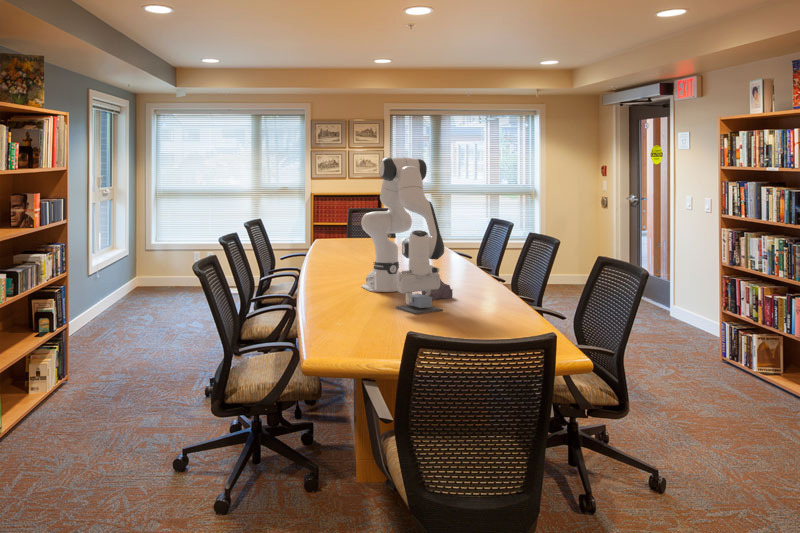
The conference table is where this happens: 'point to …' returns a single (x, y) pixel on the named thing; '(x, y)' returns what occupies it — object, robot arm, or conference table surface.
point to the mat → (418, 309)
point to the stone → (440, 292)
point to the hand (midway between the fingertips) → (418, 301)
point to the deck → (420, 300)
